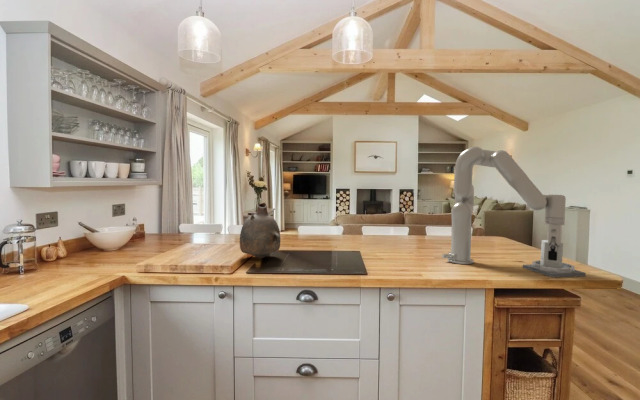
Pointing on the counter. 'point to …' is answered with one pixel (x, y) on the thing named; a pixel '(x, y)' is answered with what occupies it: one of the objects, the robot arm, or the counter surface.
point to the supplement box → (545, 255)
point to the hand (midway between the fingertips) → (552, 258)
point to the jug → (260, 234)
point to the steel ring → (567, 268)
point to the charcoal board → (553, 274)
